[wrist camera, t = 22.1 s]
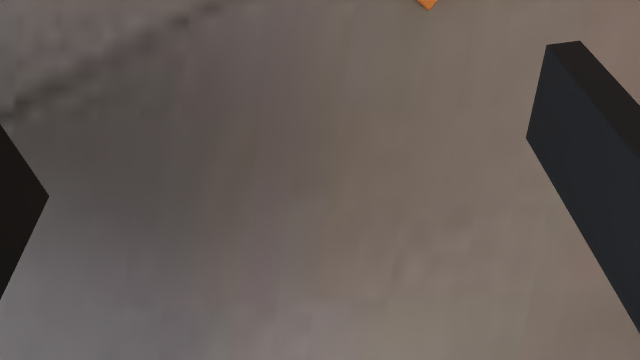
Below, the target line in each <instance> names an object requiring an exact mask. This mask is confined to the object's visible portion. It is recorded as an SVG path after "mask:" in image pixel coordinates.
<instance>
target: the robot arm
mask: <svg viewBox="0 0 640 360" xmlns="http://www.w3.org/2000/svg"><path fill="white" fill-rule="evenodd" d="M526 139H527V141H528V142H529V144H530V146H531V147H532V149H533V151H534V153H535V154H536V156H537V158H538V160H539V161H540V163H541V165H542V166H543V168H544V170H545V172H546V173H547V175H548V177H549V178H550V180H551V182H552V184H553V185H554V187H555V189H556V190H557V192H558V194H559V196H560V197H561V199H562V201H563V203H564V204H565V206H566V208H567V209H568V211H569V213H570V215H571V216H572V218H573V220H574V221H575V223H576V225H577V227H578V228H579V230H580V232H581V233H582V235H583V237H584V239H585V240H586V242H587V244H588V246H589V247H590V249H591V251H592V252H593V254H594V256H595V258H596V259H597V261H598V263H599V264H600V266H601V268H602V270H603V271H604V273H605V275H606V276H607V278H608V280H609V282H610V283H611V285H612V287H613V289H614V290H615V292H616V294H617V295H618V297H619V299H620V301H621V302H622V304H623V306H624V307H625V309H626V311H627V313H628V314H629V316H630V318H631V319H632V321H633V323H634V325H635V326H636V328H637V330H638V332H639V333H640V106H639V104H638V103H637V102H636V101H635V100H634V99H633V98H632V97H631V96H630V95H629V94H628V93H627V91H626V90H625V89H624V88H623V87H622V86H621V85H620V84H619V83H618V82H617V81H616V79H615V78H614V77H613V76H612V75H611V74H610V73H609V72H608V71H607V70H606V69H605V67H604V66H603V65H602V64H601V63H600V62H599V61H598V60H597V59H596V58H595V57H594V55H593V54H592V53H591V52H590V51H589V50H588V49H587V48H586V47H585V46H584V45H583V43H582V42H581V41H574V42H566V43H558V44H550V45H547V46H546V50H545V55H544V59H543V63H542V68H541V72H540V77H539V81H538V86H537V90H536V95H535V99H534V104H533V108H532V113H531V117H530V122H529V126H528V131H527V135H526ZM48 198H49V195H48V193H47V192H46V190H45V189H44V188H43V186H42V185H41V183H40V182H39V180H38V179H37V177H36V176H35V174H34V173H33V171H32V170H31V168H30V167H29V166H28V164H27V163H26V161H25V160H24V158H23V157H22V155H21V154H20V152H19V151H18V149H17V148H16V146H15V145H14V144H13V142H12V141H11V139H10V138H9V136H8V135H7V133H6V132H5V130H4V129H3V127H2V126H1V124H0V299H1V297H2V295H3V293H4V291H5V289H6V287H7V285H8V282H9V280H10V278H11V276H12V274H13V272H14V270H15V268H16V265H17V263H18V261H19V259H20V257H21V255H22V253H23V251H24V249H25V246H26V244H27V242H28V240H29V238H30V236H31V234H32V232H33V229H34V227H35V225H36V223H37V221H38V219H39V217H40V215H41V213H42V210H43V208H44V206H45V204H46V202H47V200H48Z"/></svg>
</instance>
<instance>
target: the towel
mask: <svg viewBox="0 0 640 360" xmlns="http://www.w3.org/2000/svg"><path fill="white" fill-rule="evenodd" d="M417 1H418V2H419V3H420V4H421V5H422V6H423V7H424V8H425V9H426V10H430V9H431V8H432V7H433V5H434V4H435V3H436V2H437V1H438V0H417Z"/></svg>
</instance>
